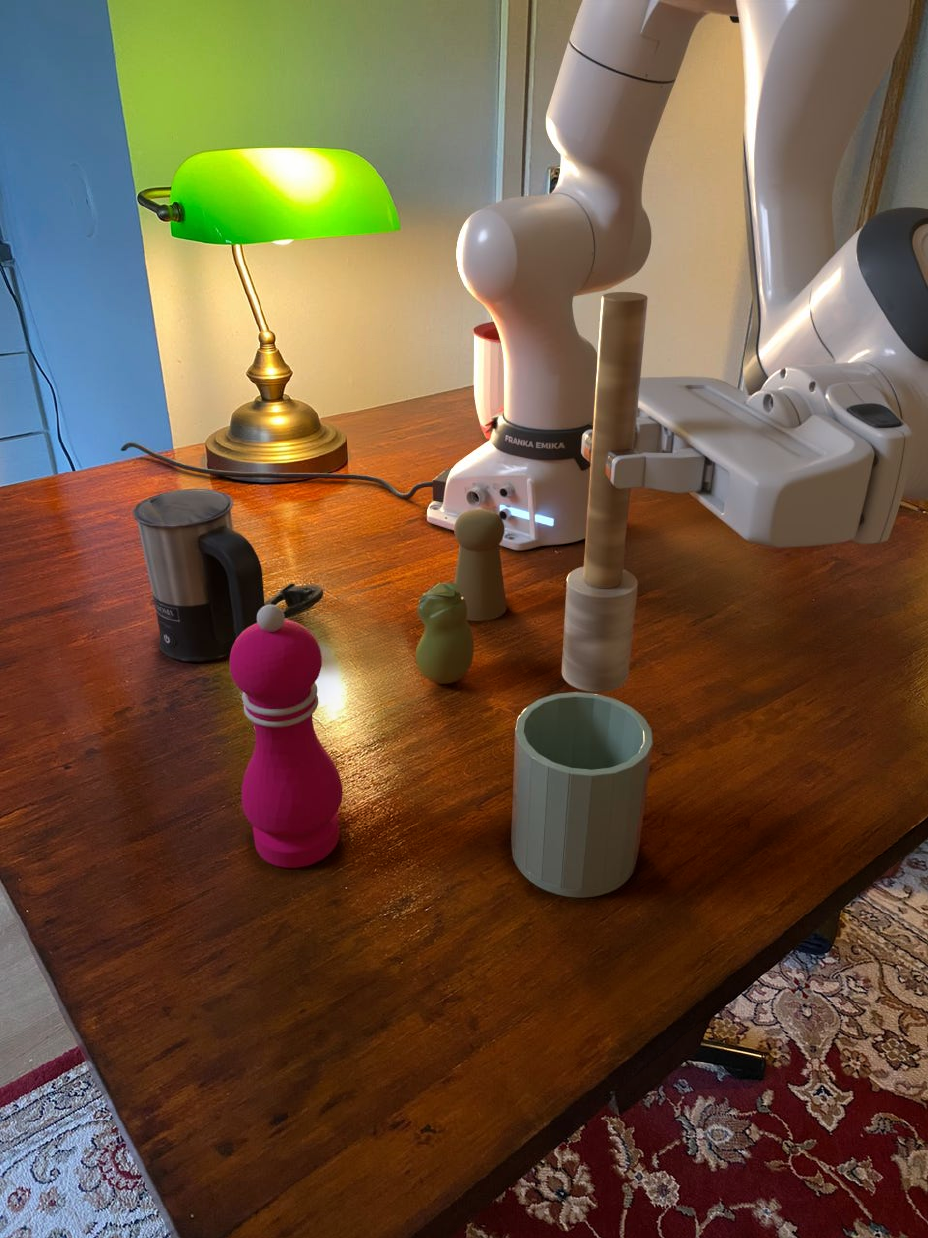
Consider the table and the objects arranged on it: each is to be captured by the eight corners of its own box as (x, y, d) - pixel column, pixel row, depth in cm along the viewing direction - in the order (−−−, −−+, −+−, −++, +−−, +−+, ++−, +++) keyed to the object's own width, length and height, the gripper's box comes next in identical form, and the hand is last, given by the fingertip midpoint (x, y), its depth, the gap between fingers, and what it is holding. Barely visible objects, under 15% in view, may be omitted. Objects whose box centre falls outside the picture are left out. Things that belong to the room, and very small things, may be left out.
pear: (451, 701, 83) (451, 606, 78) (404, 684, 86) (401, 591, 81) (483, 672, 88) (484, 581, 83) (437, 657, 90) (435, 567, 85)
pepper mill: (254, 808, 71) (220, 582, 61) (347, 803, 71) (328, 578, 61) (243, 877, 65) (202, 638, 55) (344, 871, 65) (323, 632, 55)
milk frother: (138, 652, 91) (110, 516, 83) (229, 584, 103) (211, 460, 96) (261, 682, 86) (242, 540, 79) (340, 606, 99) (330, 478, 91)
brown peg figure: (513, 599, 100) (516, 506, 95) (496, 625, 95) (498, 529, 90) (461, 590, 102) (461, 499, 97) (443, 615, 97) (441, 521, 92)
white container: (593, 433, 149) (603, 307, 139) (525, 460, 138) (530, 325, 128) (521, 413, 158) (525, 293, 148) (452, 437, 148) (451, 309, 138)
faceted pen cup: (491, 871, 65) (493, 750, 60) (539, 794, 72) (545, 679, 67) (614, 915, 62) (628, 791, 56) (651, 830, 69) (668, 712, 63)
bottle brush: (551, 682, 59) (571, 299, 47) (574, 650, 63) (598, 285, 51) (616, 699, 58) (654, 306, 46) (636, 665, 61) (676, 291, 49)
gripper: (734, 347, 62) (543, 360, 60) (935, 442, 45) (679, 466, 42) (722, 436, 66) (539, 452, 63) (905, 556, 48) (665, 586, 46)
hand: (597, 458), depth 52 cm, fingers closed on bottle brush, 2 cm apart
